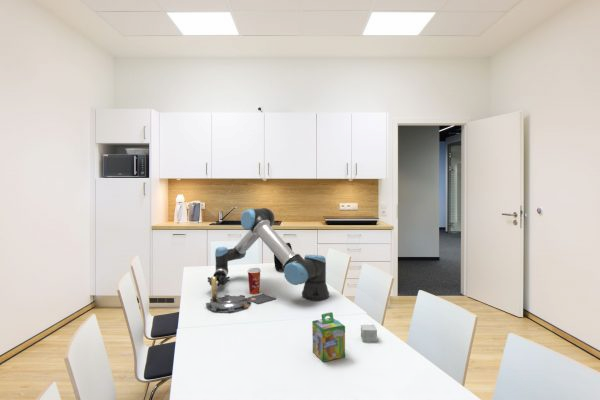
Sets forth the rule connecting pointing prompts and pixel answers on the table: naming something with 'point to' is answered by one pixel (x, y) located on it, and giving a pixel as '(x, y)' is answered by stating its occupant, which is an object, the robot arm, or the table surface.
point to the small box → (368, 333)
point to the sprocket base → (227, 310)
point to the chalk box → (328, 338)
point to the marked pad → (261, 298)
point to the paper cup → (254, 280)
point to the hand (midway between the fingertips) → (215, 286)
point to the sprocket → (226, 300)
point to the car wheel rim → (277, 262)
